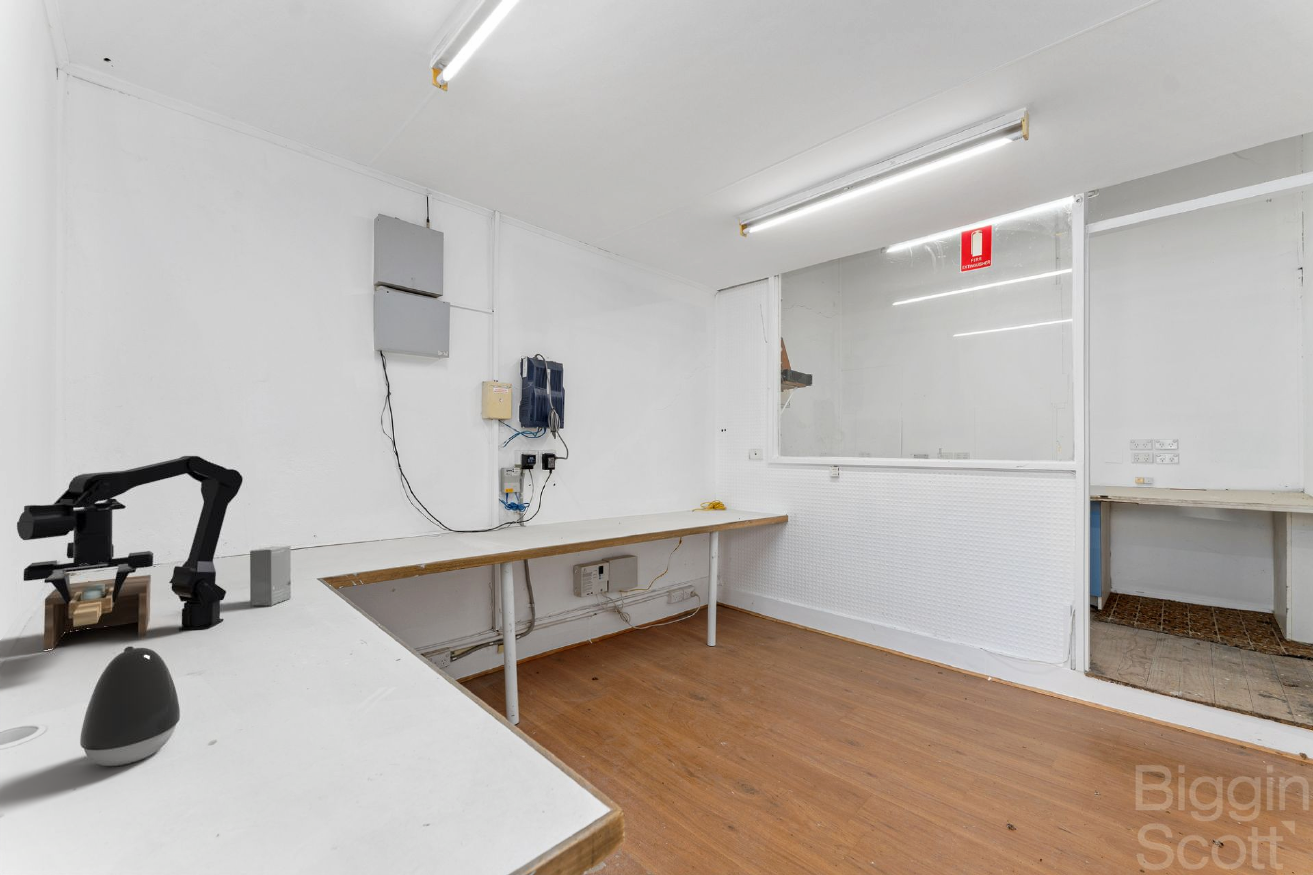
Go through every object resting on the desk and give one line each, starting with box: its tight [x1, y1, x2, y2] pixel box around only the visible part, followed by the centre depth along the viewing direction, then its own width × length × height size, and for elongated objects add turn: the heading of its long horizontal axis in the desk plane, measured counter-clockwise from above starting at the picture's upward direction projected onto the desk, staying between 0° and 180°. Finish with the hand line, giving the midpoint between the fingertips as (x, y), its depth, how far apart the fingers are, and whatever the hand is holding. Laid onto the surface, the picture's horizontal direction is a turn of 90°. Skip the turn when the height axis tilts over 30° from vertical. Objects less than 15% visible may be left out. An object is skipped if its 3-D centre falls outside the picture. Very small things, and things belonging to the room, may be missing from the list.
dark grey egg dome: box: [79, 645, 181, 767], centre depth 77 cm, size 10×10×15 cm
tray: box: [69, 584, 114, 627], centre depth 112 cm, size 20×6×4 cm, turn 42°
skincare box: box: [249, 545, 292, 607], centre depth 154 cm, size 8×7×16 cm
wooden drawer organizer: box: [43, 574, 152, 651], centre depth 127 cm, size 16×16×12 cm
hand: (92, 605), depth 114 cm, fingers closed on tray, 6 cm apart
